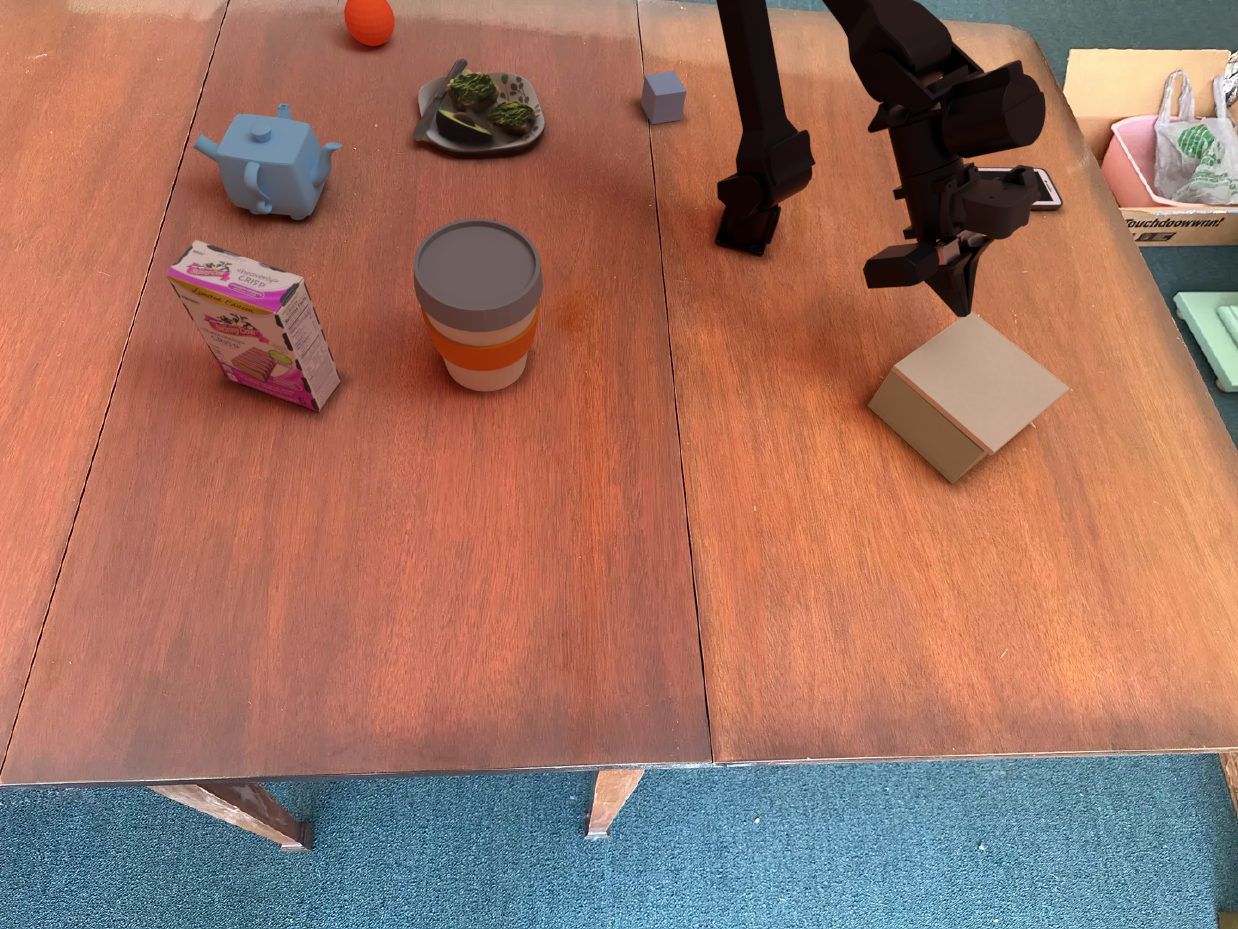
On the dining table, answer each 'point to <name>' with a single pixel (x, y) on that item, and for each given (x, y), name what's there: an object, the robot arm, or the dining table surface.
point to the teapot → (271, 163)
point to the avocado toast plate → (479, 113)
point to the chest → (925, 428)
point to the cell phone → (1045, 186)
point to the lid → (980, 381)
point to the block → (663, 97)
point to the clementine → (369, 20)
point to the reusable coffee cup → (480, 299)
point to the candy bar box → (257, 324)
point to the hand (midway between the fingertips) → (964, 315)
